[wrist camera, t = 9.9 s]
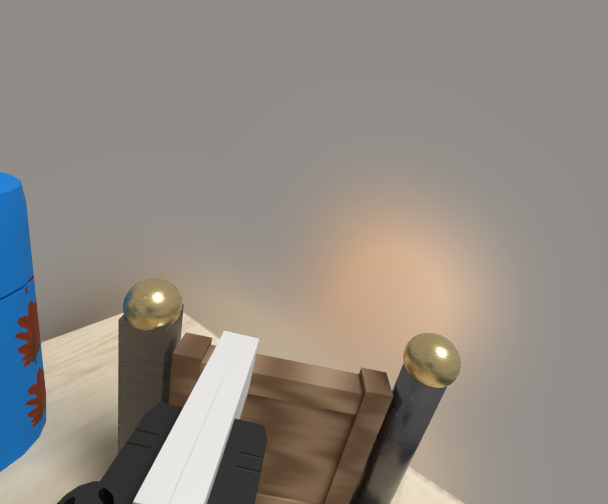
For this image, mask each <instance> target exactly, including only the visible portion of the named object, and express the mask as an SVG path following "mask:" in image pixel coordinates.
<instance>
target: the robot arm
mask: <svg viewBox="0 0 608 504" xmlns="http://www.w3.org/2000/svg"><path fill="white" fill-rule="evenodd" d="M258 344H259V339H257V338H253V337H249V336H244V335H240V334H236V333H232V332H227V331H224V333H223V334H222V336H221V338H220V340H219V342H218V344H217V346H216V348H215V349H214V351H213V353H212V355H211V357H210V359H209V361H208V362H207V364H206V366H205V368H204V370H203V372H202V374H201V376H200V377H199V379H198V381H197V383H196V385H195V387H194V389H193V391H192V392H191V394H190V396H189V398H188V400H187V402H186V404H185V406H184V407H179V406H175V405H170V404H166V403H162V402H159V403H158V404H157V405H155V406H154V407H153V408H152V409H150V410H149V411H148V412H146V413H145V415H144V416H143V418H142V419H141V421H140V422H139V424H138V425H137V427H136V428H135V431H134V432H133V433H132V434H131V436H130V437H129V439H128V440H127V442H126V444H125V445H124V446H123V448H122V449H121V451H120V452H119V454H118V455H117V457H116V458H115V460H114V461H113V463H112V464H111V466H110V467H109V469H108V470H107V472H106V473H105V475H104V476H103V478H102V479H101V481H93V482H90V483H87V484H84V485H80V486H78V487H77V488H75V489H74V490H72V491H71V492H69V493H67V494H66V495H65V496H64V497H63V498H62V499H61V500H60V501H59V502H58V503H57V504H255V501H256V496H257V491H258V486H259V481H260V475H261V470H262V465H263V460H264V455H265V450H266V445H267V437H266V432H265V427H264V425H262V424H257V423H253V422H249V421H244V420H240V416H241V413H242V410H243V406H244V403H245V400H246V397H247V394H248V390H249V386H250V382H251V377H252V372H253V367H254V363H255V358H256V353H257V348H258Z"/></svg>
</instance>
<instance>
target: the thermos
mask: <svg viewBox="0 0 608 504" xmlns="http://www.w3.org/2000/svg"><path fill="white" fill-rule="evenodd" d="M45 422H46V391H45V380H44V371H43V361H42V352H41V342H40V332H39V323H38V313H37V303H36V294H35V284H34V275H33V266H32V255H31V246H30V236H29V226H28V217H27V208H26V200H25V196H24V192H23V189H22V185H21V181H20V180H19V179H17V178H15V177H14V176H12V175H10V174H6V173H2V172H0V472H1V471H2V470H3V469H5V468H6V467H7V466H9V465H10V464H11V463H13V462H14V461H15V460H17V459H18V458H19V457H21V456H22V455H24V454H25V452H26V451H27V450H28V449H29V448H30V447H31V446H32V444H33V443H34V442H35V441H36V440H37V439H38V438H39V436H40V434H41V431H42V429H43V427H44V425H45Z"/></svg>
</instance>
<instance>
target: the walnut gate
mask: <svg viewBox="0 0 608 504" xmlns="http://www.w3.org/2000/svg"><path fill="white" fill-rule="evenodd" d="M211 341H212V338H210V337H205V336H200V335H195V334H191V333H185V335H184V336H183V338H182V339H181V341H180V343H179V344H178V346H177V347H176V349H175V350H174V352H173V354H172V366H171V379H170V392H169V404H170V405H175V406H179V407H184V406H185V404H186V402H187V400H188V398H189V396H190V394H191V392H192V391H193V389H194V387H195V385H196V383H197V381H198V379H199V377H200V376H201V374H202V372H203V370H204V368H205V366H206V364H207V362H208V361H209V359H210V357H211V355H212V353H213V351H214V349H215V348H216V346H214V345H211ZM392 399H393V394H392V391H391V387H390V384H389V380H388V377H387V374H386V373H385V372H380V371H375V370H370V369H365V368H361V371H360V373H359V374H355V373H350V372H345V371H340V370H334V369H330V368H325V367H320V366H315V365H310V364H305V363H300V362H295V361H289V360H285V359H279V358H275V357H270V356H265V355H260V354H256V358H255V363H254V367H253V372H252V377H251V382H250V386H249V390H248V394H247V397H246V400H245V403H244V406H243V410H242V413H241V416H240V420H244V421H249V422H253V423H257V424H262V425H264V427H265V432H266V437H267V445H266V450H265V455H264V460H263V465H262V470H261V475H260V481H259V486H258V491H257V496H256V501H255V504H349V503H350V500H351V498H352V495H353V493H354V491H355V488H356V486H357V483H358V481H359V478H360V476H361V474H362V471H363V469H364V466H365V464H366V461H367V459H368V457H369V454H370V452H371V449H372V447H373V445H374V442H375V440H376V437H377V435H378V432H379V430H380V428H381V425H382V423H383V420H384V418H385V415H386V413H387V411H388V408H389V406H390V403H391V401H392Z"/></svg>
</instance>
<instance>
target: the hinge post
mask: <svg viewBox="0 0 608 504" xmlns="http://www.w3.org/2000/svg"><path fill="white" fill-rule="evenodd" d="M403 357H404V358H403V360H404V364H403V366H402V368H401V371H400V373H399V376H398V378H397V381H396V383H395V386H394V388H393V391H392V394H393V399H392V401H391V403H390V406H389V408H388V411H387V413H386V415H385V418H384V420H383V423H382V425H381V428H380V430H379V432H378V435H377V437H376V440H375V442H374V445H373V447H372V449H371V452H370V454H369V457H368V459H367V461H366V464H365V466H364V469H363V471H362V474H361V476H360V478H359V481H358V483H357V486H356V488H355V491H354V493H353V495H352V498H351V500H350V503H349V504H390V503H391V501H392V499H393V497H394V495H395V493H396V491H397V488H398V486H399V484H400V482H401V480H402V478H403V476H404V474H405V472H406V470H407V468H408V466H409V464H410V462H411V460H412V458H413V456H414V453H415V451H416V449H417V447H418V445H419V443H420V441H421V439H422V437H423V435H424V433H425V431H426V429H427V427H428V425H429V423H430V420H431V418H432V416H433V414H434V412H435V410H436V408H437V406H438V404H439V402H440V400H441V398H442V396H443V394H444V392H445V390H446V387H447V386H449V385H450V384H452V383H453V382H454V381H455V380H456V378H457V376H458V374H459V371H460V357H459V354H458V352H457V350H456V348H455V347H454V345H453V344H452V343H451V342H450V341H449V340H448V339H446V338H445V337H443V336H441V335H438V334H434V333H423V334H419V335H417V336H415V337H413V338H412V339H411V340H410V341H409V342H408V344H407V345H406V347H405V350H404V355H403Z"/></svg>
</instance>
